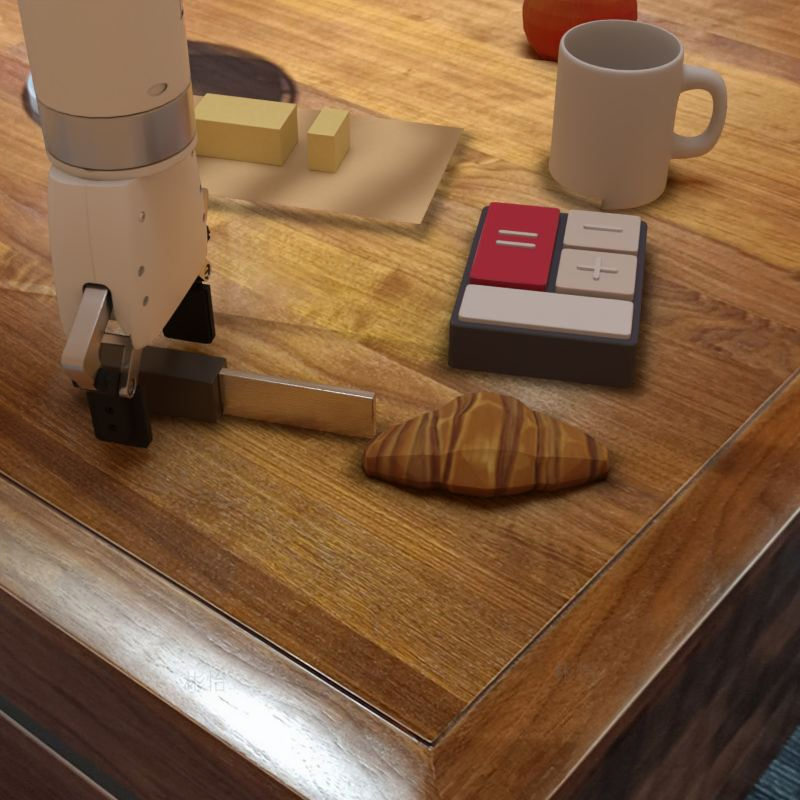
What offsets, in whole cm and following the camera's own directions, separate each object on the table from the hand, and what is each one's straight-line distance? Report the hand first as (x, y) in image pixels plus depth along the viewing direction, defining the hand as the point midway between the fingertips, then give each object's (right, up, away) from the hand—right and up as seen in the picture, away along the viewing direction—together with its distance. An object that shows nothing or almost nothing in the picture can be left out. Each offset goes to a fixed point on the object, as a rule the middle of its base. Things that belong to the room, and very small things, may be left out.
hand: (158, 387), depth 78 cm
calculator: (+23, +5, +9) cm, 25 cm away
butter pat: (+9, +17, +21) cm, 28 cm away
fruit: (+29, +28, +37) cm, 55 cm away
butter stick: (+2, +18, +22) cm, 28 cm away
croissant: (+18, -5, -3) cm, 19 cm away
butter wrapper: (+6, +16, +22) cm, 28 cm away
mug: (+31, +15, +21) cm, 40 cm away
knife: (+4, -2, 0) cm, 5 cm away
